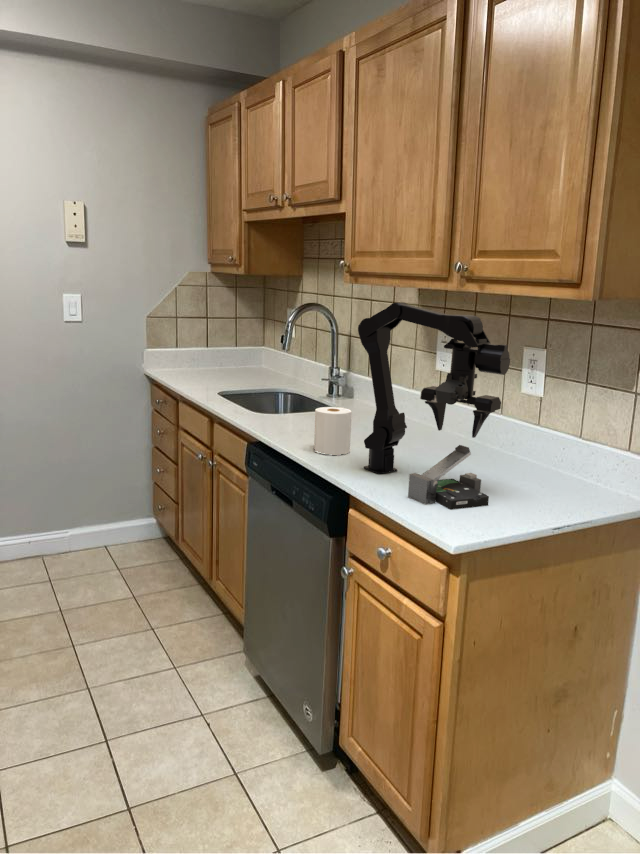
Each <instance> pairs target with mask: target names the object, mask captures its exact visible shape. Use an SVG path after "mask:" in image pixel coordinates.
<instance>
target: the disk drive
mask: <svg viewBox="0 0 640 854" xmlns="http://www.w3.org/2000/svg"><path fill="white" fill-rule="evenodd" d="M459 481H460V480H457V479H456V478H455V479H454V478H444V479H438V480H437V482H438V485H437V489H436V502H435V503H437V504H440V505H442V506H443V507H444V508H447V509H448V510H451V511H452V510H459V509H468V508H476V507H484V506H485V507H487V506H489V497H490V496H489V495H487V493H483V492H482V491H480V492H479V491H477V490H475V489H473V488H471V487H469V486H467V485H465V484H463V483H461V482H459Z"/></svg>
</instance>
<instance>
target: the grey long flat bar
mask: <svg viewBox="0 0 640 854" xmlns="http://www.w3.org/2000/svg"><path fill="white" fill-rule="evenodd" d="M470 456H472V451H471V450H470V447H469V446H465V445H462V444H458V445H457V446H456V447H454V450H453V451H451V452H450V453H449V454H448V455H446V456H445V457H444V458H442V459H441V460H440V461H438V462H437V463H436V464H434V465H433V466H431V467H430V468H429V469H427V470H426V471H425V472H424V473H422V474H421V475H422V476H425V477H428V478H430V479H433V480H440V478H442V477H444V476H445V475H446V474H447V473H449V472H450V471H452V470H453V469H454V468H455V467H456V466H458V465H459V464H460V463H462V462H463V461H464V460H466V459H467V458H469V457H470Z"/></svg>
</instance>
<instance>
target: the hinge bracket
mask: <svg viewBox="0 0 640 854" xmlns="http://www.w3.org/2000/svg"><path fill="white" fill-rule="evenodd" d="M437 485H438V482H437V480H433V479H430V478H428V477H425V476H422V474H420V473H416V472H414V473H409V476H408V492H407V497H408V498H410V499H412V500H414V501H417V502H419V503H422V504H424V505H433V504H436V503H437V502H436V489H437Z"/></svg>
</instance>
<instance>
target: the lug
mask: <svg viewBox="0 0 640 854" xmlns="http://www.w3.org/2000/svg"><path fill="white" fill-rule="evenodd" d="M477 476H478V475H477V474H476V473H473V472H466V473H464V474H460V475H459V480H458V481H459V482H461V483H463V484H465V485H467V486H469V487H471V488H473V489H475V490H477V491H479V492H481V486H482V485H481V484H482V479H481V478H477Z"/></svg>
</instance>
